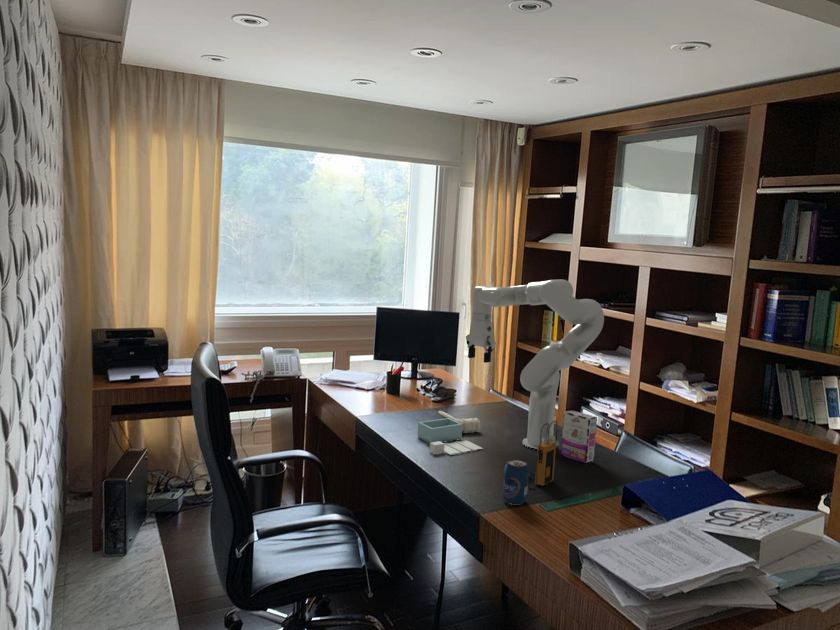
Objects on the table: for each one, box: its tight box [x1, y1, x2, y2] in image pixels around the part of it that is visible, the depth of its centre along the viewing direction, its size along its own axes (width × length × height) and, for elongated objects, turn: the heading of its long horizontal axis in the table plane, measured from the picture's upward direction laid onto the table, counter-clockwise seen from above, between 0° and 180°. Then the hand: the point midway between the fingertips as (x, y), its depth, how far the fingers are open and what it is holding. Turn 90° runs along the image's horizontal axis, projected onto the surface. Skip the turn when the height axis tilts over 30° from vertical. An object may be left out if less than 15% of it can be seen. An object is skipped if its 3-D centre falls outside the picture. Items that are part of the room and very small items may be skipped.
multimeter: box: [534, 420, 558, 489], centre depth 200 cm, size 15×10×20 cm
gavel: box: [437, 410, 481, 434], centre depth 260 cm, size 10×6×32 cm
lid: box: [429, 440, 484, 455], centre depth 227 cm, size 10×19×4 cm, turn 123°
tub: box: [417, 417, 463, 444], centre depth 238 cm, size 9×14×6 cm, turn 123°
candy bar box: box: [560, 409, 598, 463], centre depth 222 cm, size 11×5×16 cm, turn 40°
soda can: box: [502, 458, 530, 504], centre depth 183 cm, size 7×7×12 cm
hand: (479, 360), depth 250 cm, fingers open, 9 cm apart
